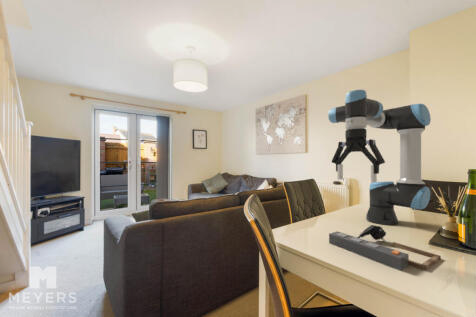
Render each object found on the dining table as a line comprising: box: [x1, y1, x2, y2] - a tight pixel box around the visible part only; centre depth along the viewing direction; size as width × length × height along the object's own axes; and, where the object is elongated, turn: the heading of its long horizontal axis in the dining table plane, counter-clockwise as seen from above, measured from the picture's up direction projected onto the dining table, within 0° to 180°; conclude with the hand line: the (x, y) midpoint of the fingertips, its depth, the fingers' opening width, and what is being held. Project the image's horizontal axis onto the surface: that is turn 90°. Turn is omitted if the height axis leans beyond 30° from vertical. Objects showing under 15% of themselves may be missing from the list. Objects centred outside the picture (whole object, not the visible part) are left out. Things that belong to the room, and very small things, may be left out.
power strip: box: [328, 230, 410, 271], centre depth 80 cm, size 6×26×5 cm, turn 31°
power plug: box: [357, 224, 387, 243], centre depth 91 cm, size 6×8×12 cm
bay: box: [392, 241, 442, 272], centre depth 76 cm, size 14×14×2 cm
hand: (355, 180), depth 85 cm, fingers open, 13 cm apart
